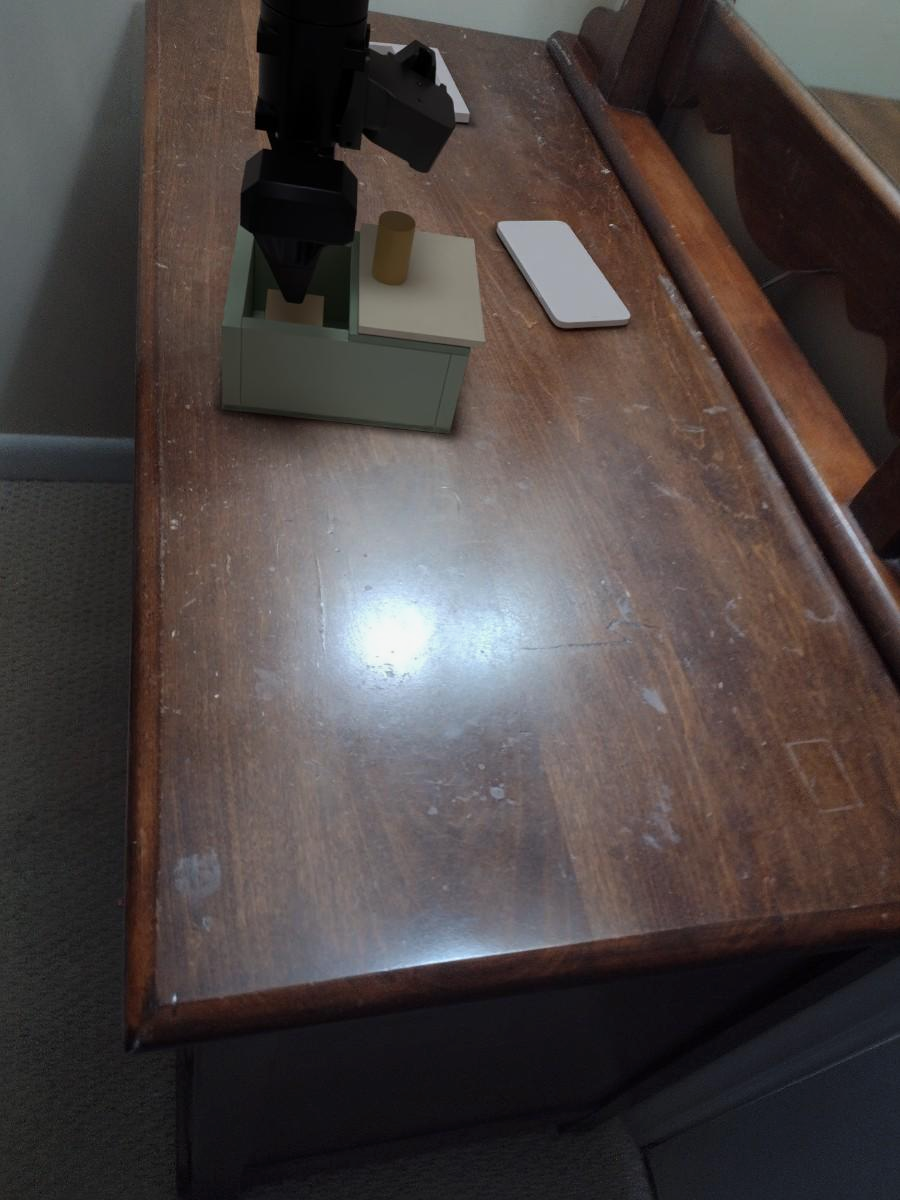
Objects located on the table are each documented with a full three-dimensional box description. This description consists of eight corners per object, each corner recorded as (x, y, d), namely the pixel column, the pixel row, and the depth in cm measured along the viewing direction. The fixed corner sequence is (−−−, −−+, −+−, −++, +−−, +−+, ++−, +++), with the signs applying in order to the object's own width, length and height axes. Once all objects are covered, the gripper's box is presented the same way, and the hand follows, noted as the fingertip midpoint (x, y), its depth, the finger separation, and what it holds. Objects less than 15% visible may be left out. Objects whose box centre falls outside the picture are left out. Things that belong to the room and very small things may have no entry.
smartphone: (565, 220, 86) (634, 318, 78) (563, 227, 87) (631, 326, 79) (494, 221, 84) (558, 323, 76) (492, 228, 84) (555, 330, 76)
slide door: (357, 333, 59) (365, 270, 56) (359, 229, 66) (367, 168, 63) (483, 349, 61) (499, 288, 57) (472, 246, 68) (485, 186, 64)
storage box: (222, 409, 64) (221, 317, 58) (238, 304, 71) (238, 213, 65) (449, 434, 66) (470, 348, 60) (442, 331, 74) (461, 245, 68)
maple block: (262, 369, 66) (263, 323, 63) (265, 334, 68) (267, 288, 65) (318, 376, 67) (322, 330, 64) (320, 341, 69) (324, 296, 66)
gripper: (472, 111, 45) (420, 365, 57) (453, -34, 56) (413, 204, 69) (240, 70, 43) (238, 342, 55) (268, -72, 54) (261, 180, 67)
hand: (297, 260), depth 62 cm, fingers open, 9 cm apart
